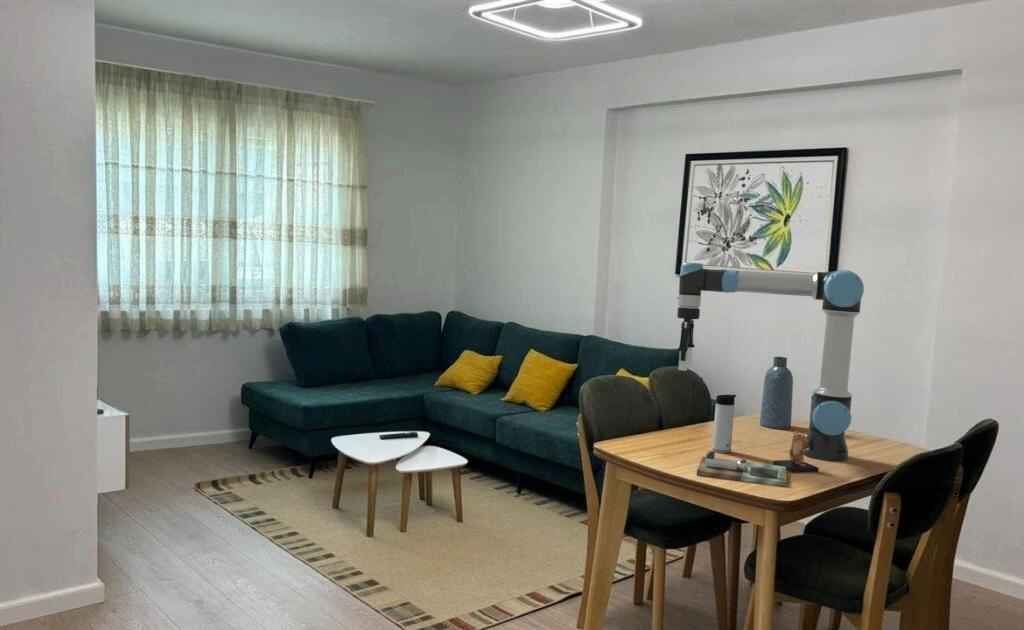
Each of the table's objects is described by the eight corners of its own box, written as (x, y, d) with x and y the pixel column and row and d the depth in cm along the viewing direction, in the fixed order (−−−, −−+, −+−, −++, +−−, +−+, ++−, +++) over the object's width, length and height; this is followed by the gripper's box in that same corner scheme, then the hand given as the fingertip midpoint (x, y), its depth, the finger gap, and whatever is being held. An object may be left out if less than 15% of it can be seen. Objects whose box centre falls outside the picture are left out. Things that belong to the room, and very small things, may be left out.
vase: (761, 427, 339) (767, 358, 336) (757, 422, 351) (763, 354, 348) (793, 430, 337) (798, 360, 335) (788, 424, 349) (793, 356, 346)
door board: (785, 471, 269) (786, 458, 269) (785, 486, 250) (786, 473, 250) (702, 460, 277) (703, 448, 277) (696, 475, 258) (697, 462, 258)
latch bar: (748, 469, 262) (749, 455, 262) (747, 471, 258) (748, 457, 258) (706, 463, 266) (707, 450, 265) (705, 466, 262) (706, 452, 262)
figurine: (818, 472, 271) (821, 435, 270) (791, 473, 268) (794, 435, 267) (799, 464, 280) (802, 428, 279) (772, 464, 277) (775, 428, 276)
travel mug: (732, 454, 289) (736, 396, 287) (712, 452, 290) (716, 394, 289) (731, 450, 295) (735, 393, 294) (712, 448, 296) (716, 392, 295)
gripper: (682, 304, 306) (678, 363, 307) (673, 308, 282) (669, 371, 284) (703, 306, 303) (699, 364, 305) (696, 309, 280) (691, 373, 281)
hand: (684, 368), depth 294 cm, fingers open, 13 cm apart
